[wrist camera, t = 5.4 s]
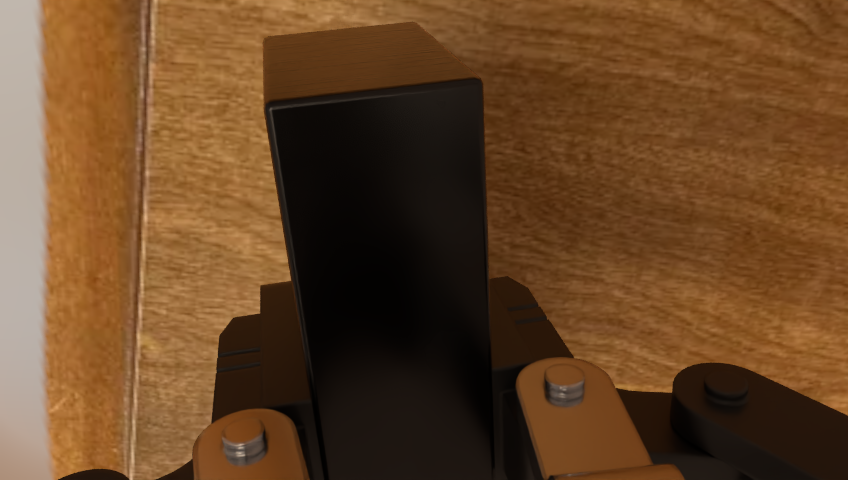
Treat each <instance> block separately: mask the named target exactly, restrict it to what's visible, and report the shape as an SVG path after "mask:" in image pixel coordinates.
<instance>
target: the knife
mask: <svg viewBox="0 0 848 480" xmlns="http://www.w3.org/2000/svg"><path fill="white" fill-rule="evenodd" d="M263 90H264V114H265V120H266V126H267V132H268V139H269V145H270V151H271V157H272V163H273V170H274V176H275V182H276V188H277V194H278V201H279V207H280V213H281V219H282V225H283V232H284V238H285V244H286V250H287V256H288V263H289V269H290V275H291V281H292V287H293V294H294V300H295V306H296V312H297V318H298V325H299V331H300V337H301V343H302V349H303V356H304V362H305V368H306V374H307V380H308V387H309V393H310V399H311V401H312V407H313V413H314V420H315V426H316V432H317V438H318V444H319V451H320V457H321V463H322V469H323V475H324V480H495V450H494V418H493V387H492V345H491V314H490V283H489V251H488V220H487V188H486V157H485V126H484V94H483V83H482V80H481V78H480V77H478V76H477V75H476V74H475V73H474V72H473V71H471V70H470V69H469V68H468V67H467V66H466V65H465V64H463V63H462V62H461V61H460V60H459V59H458V58H456V57H455V56H454V55H453V54H452V53H451V52H450V51H448V50H447V49H446V48H445V47H444V46H443V45H441V44H440V43H439V42H438V41H437V40H436V39H435V38H433V37H432V36H431V35H430V34H429V33H428V32H426V31H425V30H424V29H423V28H422V27H421V26H420V25H418V24H417V23H415V22H406V23H396V24H386V25H377V26H367V27H357V28H347V29H337V30H327V31H317V32H307V33H297V34H288V35H278V36H268V37H266V38H264V41H263Z"/></svg>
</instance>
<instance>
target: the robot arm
mask: <svg viewBox="0 0 848 480" xmlns="http://www.w3.org/2000/svg"><path fill="white" fill-rule="evenodd" d="M489 283H490V314H491V345H492V387H493V418H494V450H495V480H848V416H847V415H845V414H843V413H841V412H839V411H837V410H834V409H832V408H830V407H828V406H826V405H824V404H822V403H819V402H817V401H815V400H813V399H811V398H809V397H807V396H804V395H802V394H800V393H798V392H796V391H794V390H792V389H789V388H787V387H785V386H783V385H781V384H779V383H776V382H774V381H772V380H770V379H768V378H766V377H764V376H761V375H759V374H757V373H755V372H753V371H750V370H748V369H745V368H742V367H739V366H735V365H731V364H724V363H701V364H696V365H693V366H690V367H687V368H685V369H683V370H682V371H681V372H679V373H678V374H677V376H676V377H675V378H674V381H673V388H672V393H663V392H639V391H628V390H623V389H618V388H615V386H614V384H613V382H612V380H611V378H610V377H609V375H608V374H607V373H606V372H605V371H604V370H602V369H601V368H599V367H598V366H596V365H594V364H592V363H589V362H587V361H584V360H580V359H575V358H574V357H573V355H572V354H571V352H570V351H569V349H568V348H567V346H566V345H565V343H564V342H563V340H562V339H561V337H560V336H559V334H558V333H557V331H556V330H555V328H554V327H553V325H552V324H551V322H550V321H549V320H547V316H546V315H545V313H544V312H543V310H542V309H541V307H538V303H537V301H536V300H535V298H534V297H533V295H532V294H531V292H530V291H529V289H528V288H527V287H525V286H523V285H522V284H520V283H518V282H517V281H515V280H513V279H511V278H510V277H508V276H505V277H499V278H492V279H490V278H489ZM216 370H217V373H216V379H215V390H214V401H213V412H212V423H211V425H209V426H208V427H207V428H206V429H205V430H203V432H202V433H201V434H200V435H199V436H198V438H197V440H196V441H195V444H194V447H193V454H192V455H193V459H192V460H191V461H189V462H188V463H186V464H185V465H184V466H182V467H181V468H179V469H177V470H176V471H174V472H172V473H170V474H168V475H165V476H163V477H161V478H158V479H156V480H324V475H323V469H322V463H321V457H320V451H319V444H318V438H317V432H316V426H315V420H314V413H313V407H312V401H311V399H310V393H309V387H308V380H307V374H306V368H305V362H304V356H303V349H302V343H301V337H300V331H299V325H298V318H297V312H296V306H295V300H294V294H293V287H292V281H288V282H281V283H274V284H267V285H261V287H260V314H254V315H248V316H241V317H235V318H233V319H232V320H231V321H230V323H229V324H228V325H227V327H226V328H225V329H224V331H223V332H222V333H221V334H220V336H219V347H218V358H217V368H216ZM58 480H129V479H128V478H127V477H126V476H125V475H124V474H122V473H119V472H117V471H113V470H108V469H92V470H86V471H81V472H77V473H73V474H71V475H68V476H65V477H63V478H61V479H58Z"/></svg>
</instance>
